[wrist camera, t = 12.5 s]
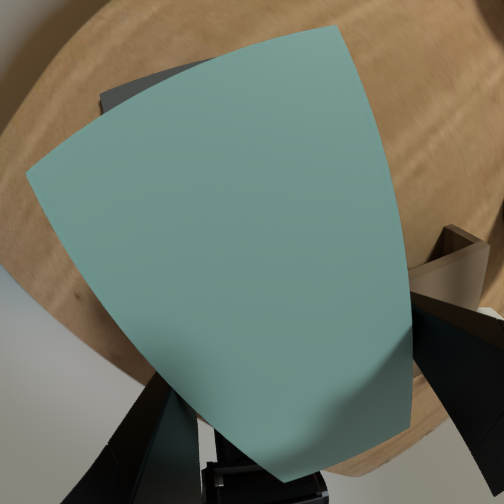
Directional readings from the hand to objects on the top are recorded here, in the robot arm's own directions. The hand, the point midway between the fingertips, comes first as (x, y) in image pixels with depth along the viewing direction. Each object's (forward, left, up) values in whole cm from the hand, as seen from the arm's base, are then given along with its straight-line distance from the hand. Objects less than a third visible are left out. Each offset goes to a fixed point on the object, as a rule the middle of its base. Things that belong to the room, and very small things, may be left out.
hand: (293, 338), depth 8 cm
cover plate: (0, 0, -2) cm, 2 cm away
